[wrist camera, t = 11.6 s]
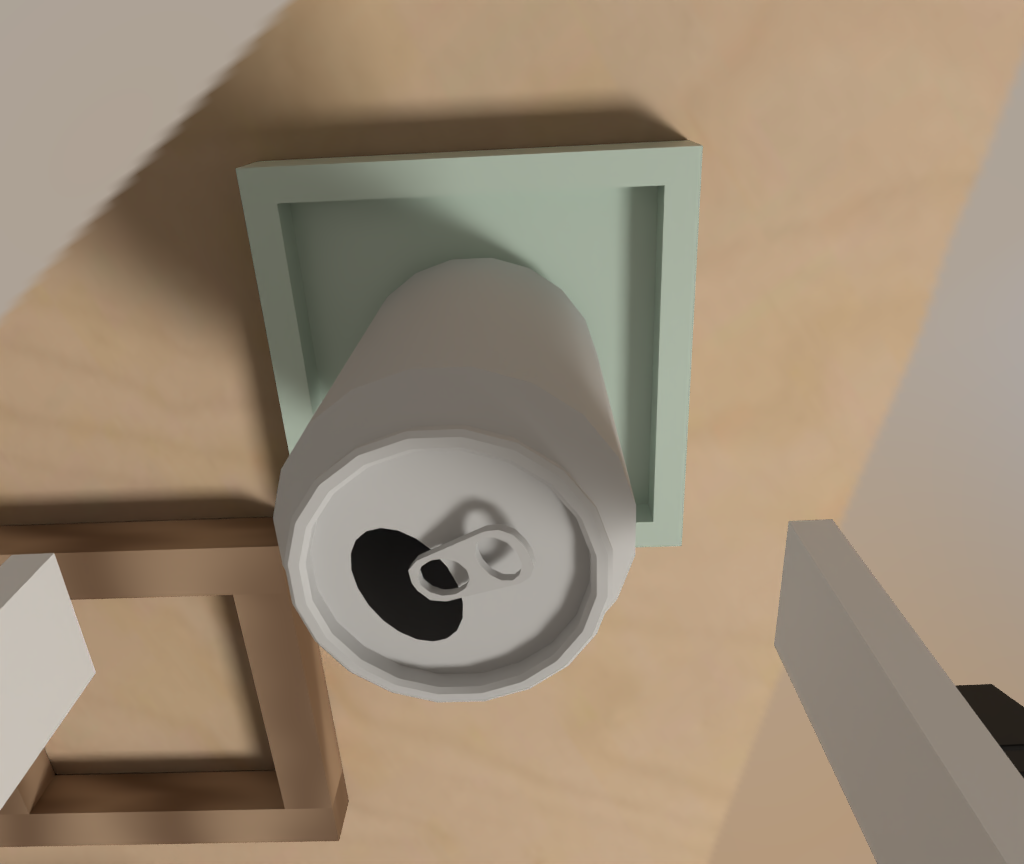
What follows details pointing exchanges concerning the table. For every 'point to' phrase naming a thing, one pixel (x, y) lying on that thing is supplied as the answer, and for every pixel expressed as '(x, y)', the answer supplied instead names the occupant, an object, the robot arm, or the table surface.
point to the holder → (277, 677)
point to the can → (460, 490)
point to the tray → (504, 236)
